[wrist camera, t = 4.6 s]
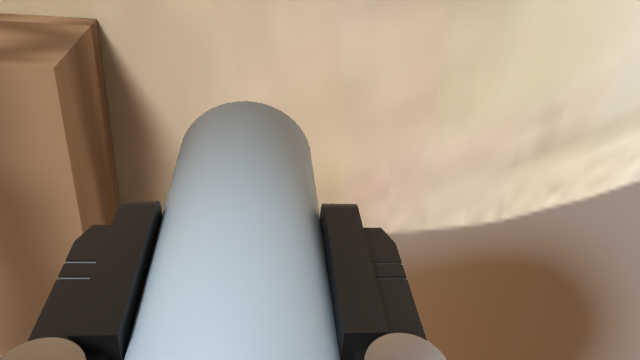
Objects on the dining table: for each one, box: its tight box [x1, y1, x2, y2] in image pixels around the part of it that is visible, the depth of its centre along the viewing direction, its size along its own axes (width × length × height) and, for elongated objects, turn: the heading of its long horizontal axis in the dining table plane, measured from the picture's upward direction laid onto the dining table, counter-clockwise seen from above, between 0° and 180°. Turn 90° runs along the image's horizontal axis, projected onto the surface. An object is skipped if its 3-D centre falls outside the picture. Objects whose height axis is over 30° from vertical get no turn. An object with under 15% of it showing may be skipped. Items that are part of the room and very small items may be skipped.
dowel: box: [124, 101, 340, 360], centre depth 10 cm, size 3×3×10 cm
